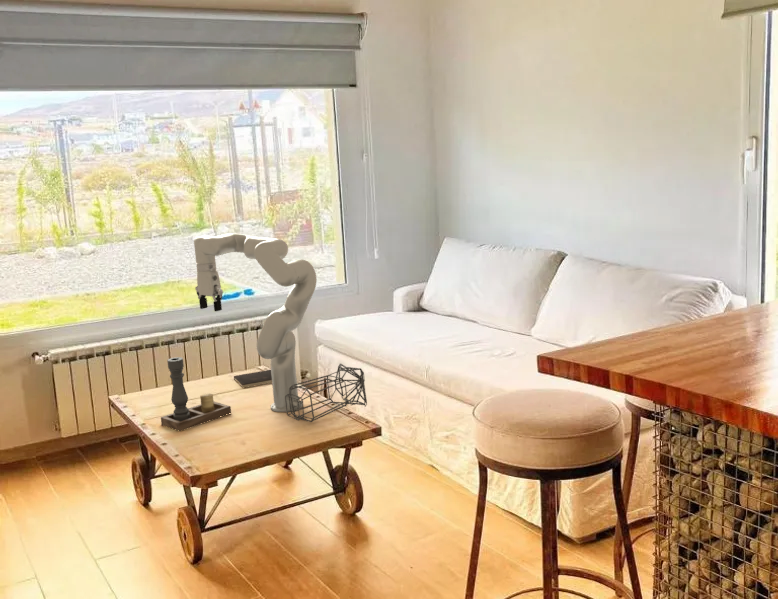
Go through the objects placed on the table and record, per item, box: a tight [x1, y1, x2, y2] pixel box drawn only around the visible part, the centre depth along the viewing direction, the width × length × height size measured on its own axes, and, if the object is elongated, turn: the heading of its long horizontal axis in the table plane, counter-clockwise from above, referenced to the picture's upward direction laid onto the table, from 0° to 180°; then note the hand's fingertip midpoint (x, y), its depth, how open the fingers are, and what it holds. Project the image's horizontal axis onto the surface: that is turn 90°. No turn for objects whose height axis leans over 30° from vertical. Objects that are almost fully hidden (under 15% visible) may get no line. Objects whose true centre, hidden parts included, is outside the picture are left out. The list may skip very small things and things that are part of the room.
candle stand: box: [160, 393, 232, 432], centre depth 332 cm, size 12×23×8 cm, turn 136°
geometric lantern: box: [285, 363, 368, 423], centre depth 330 cm, size 16×16×35 cm
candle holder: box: [167, 357, 190, 421], centre depth 327 cm, size 6×6×25 cm
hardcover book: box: [233, 369, 272, 388], centre depth 381 cm, size 16×23×2 cm
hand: (210, 309), depth 346 cm, fingers open, 9 cm apart
